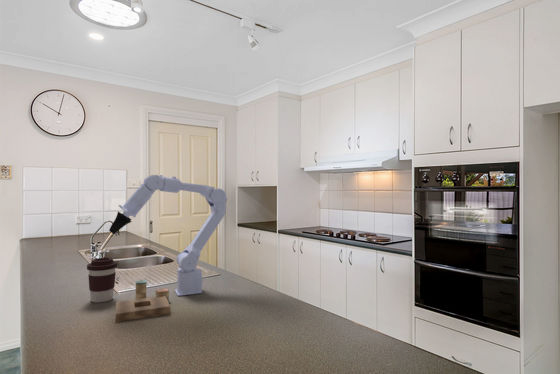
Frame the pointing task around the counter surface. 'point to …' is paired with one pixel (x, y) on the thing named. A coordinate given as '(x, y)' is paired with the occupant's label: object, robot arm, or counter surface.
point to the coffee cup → (101, 279)
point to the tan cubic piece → (163, 293)
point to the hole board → (142, 308)
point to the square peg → (141, 289)
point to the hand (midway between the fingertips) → (111, 231)
